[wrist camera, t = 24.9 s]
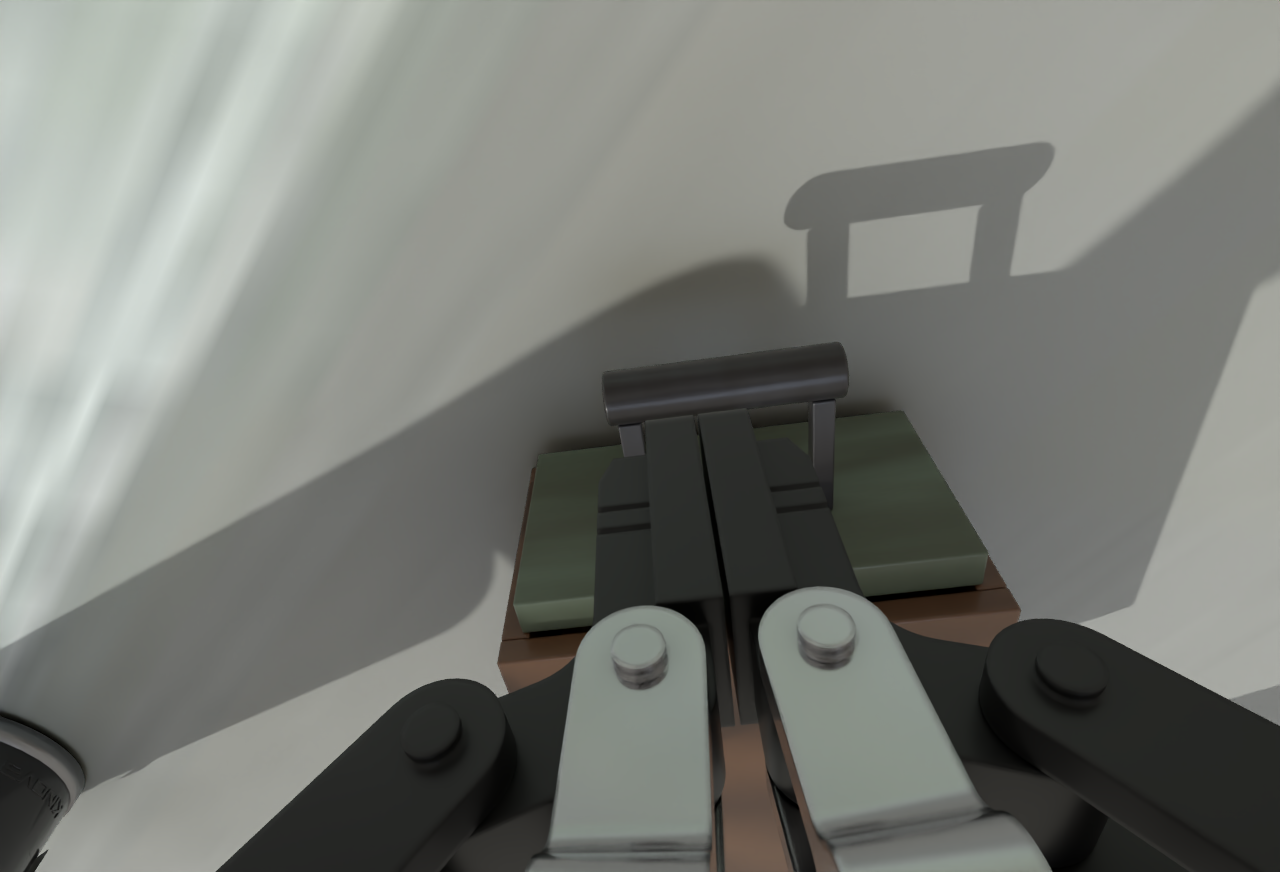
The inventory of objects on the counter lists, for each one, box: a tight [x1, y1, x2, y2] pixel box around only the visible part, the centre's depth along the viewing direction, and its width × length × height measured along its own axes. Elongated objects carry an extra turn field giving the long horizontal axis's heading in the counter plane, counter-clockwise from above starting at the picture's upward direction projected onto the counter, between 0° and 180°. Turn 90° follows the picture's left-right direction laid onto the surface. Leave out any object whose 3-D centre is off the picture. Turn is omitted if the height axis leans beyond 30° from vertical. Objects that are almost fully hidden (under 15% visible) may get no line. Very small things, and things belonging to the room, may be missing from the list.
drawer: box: [513, 342, 988, 635], centre depth 24 cm, size 20×12×7 cm, turn 8°
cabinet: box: [497, 468, 1021, 872], centre depth 26 cm, size 16×14×9 cm
